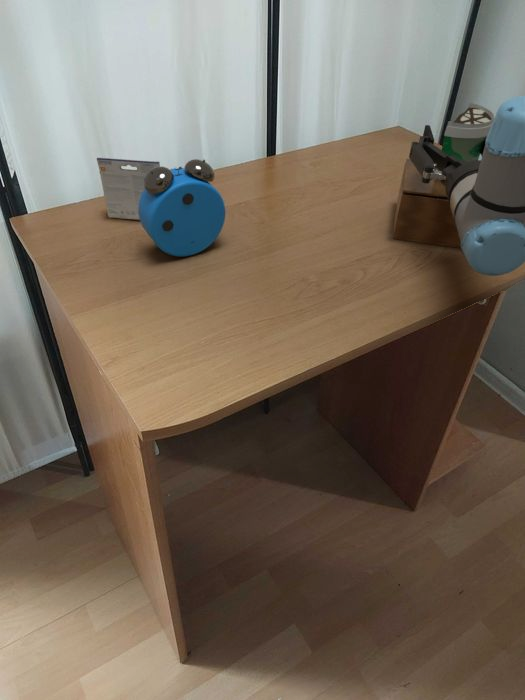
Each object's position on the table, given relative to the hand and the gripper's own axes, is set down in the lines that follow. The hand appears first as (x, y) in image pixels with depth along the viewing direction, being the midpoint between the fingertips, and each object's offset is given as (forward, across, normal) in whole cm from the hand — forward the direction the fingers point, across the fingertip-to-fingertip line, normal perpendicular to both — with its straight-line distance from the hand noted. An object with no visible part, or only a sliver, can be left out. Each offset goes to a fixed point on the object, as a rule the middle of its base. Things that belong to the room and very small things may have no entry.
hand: (453, 134), depth 92 cm
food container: (-2, +2, -6) cm, 7 cm away
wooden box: (-5, 0, -15) cm, 16 cm away
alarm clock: (-19, -44, -15) cm, 50 cm away
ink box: (-9, -55, -15) cm, 58 cm away
